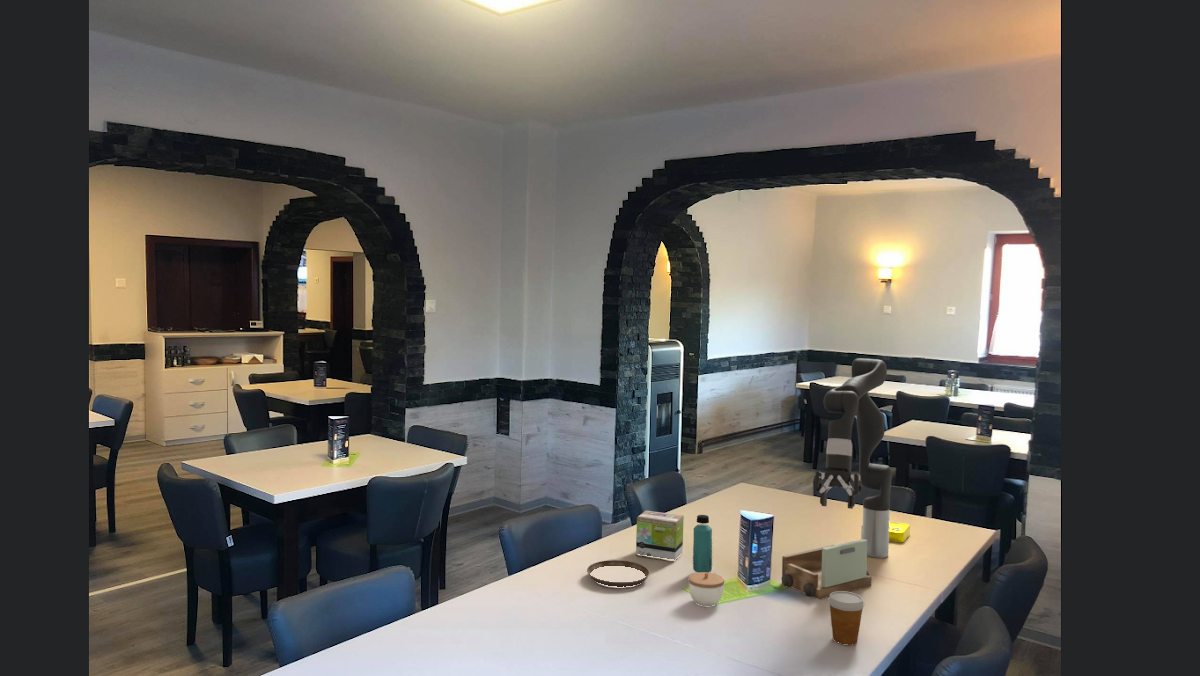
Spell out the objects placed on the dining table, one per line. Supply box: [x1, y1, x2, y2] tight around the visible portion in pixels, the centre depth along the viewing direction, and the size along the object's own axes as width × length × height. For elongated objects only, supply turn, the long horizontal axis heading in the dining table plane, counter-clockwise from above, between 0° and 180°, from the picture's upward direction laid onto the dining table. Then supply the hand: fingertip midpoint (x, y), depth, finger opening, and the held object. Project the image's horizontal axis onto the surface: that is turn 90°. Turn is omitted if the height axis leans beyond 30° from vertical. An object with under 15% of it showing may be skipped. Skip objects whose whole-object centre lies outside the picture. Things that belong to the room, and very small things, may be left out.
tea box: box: [635, 509, 684, 560], centre depth 275 cm, size 15×10×15 cm, turn 68°
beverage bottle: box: [692, 514, 713, 573], centre depth 256 cm, size 6×7×20 cm
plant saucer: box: [586, 559, 650, 587], centre depth 251 cm, size 21×21×3 cm
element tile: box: [889, 520, 911, 543], centre depth 304 cm, size 15×15×5 cm
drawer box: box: [781, 544, 872, 600], centre depth 248 cm, size 16×26×9 cm, turn 121°
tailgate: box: [821, 539, 868, 588], centre depth 242 cm, size 2×19×12 cm, turn 121°
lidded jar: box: [688, 572, 725, 607], centre depth 231 cm, size 11×11×9 cm
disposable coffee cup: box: [827, 591, 865, 646], centre depth 207 cm, size 10×10×12 cm
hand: (836, 507), depth 234 cm, fingers open, 8 cm apart
